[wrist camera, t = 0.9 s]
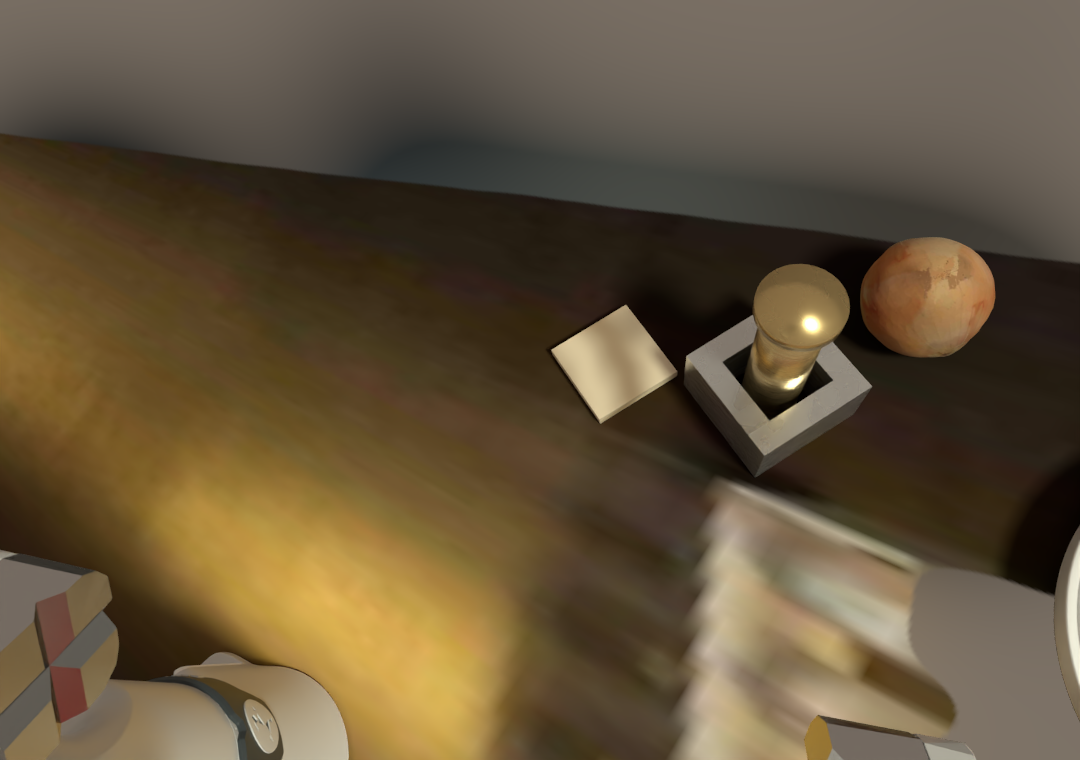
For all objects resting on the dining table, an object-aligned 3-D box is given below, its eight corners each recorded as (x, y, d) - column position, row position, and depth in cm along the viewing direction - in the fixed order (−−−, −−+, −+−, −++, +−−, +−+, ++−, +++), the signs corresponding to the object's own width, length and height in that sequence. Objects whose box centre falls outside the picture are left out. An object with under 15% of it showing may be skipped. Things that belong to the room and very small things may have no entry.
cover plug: (759, 445, 65) (793, 362, 49) (716, 390, 67) (735, 294, 52) (818, 408, 65) (869, 313, 50) (773, 354, 68) (809, 248, 52)
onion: (918, 256, 69) (958, 188, 60) (992, 343, 65) (1048, 284, 56) (824, 305, 69) (850, 243, 60) (894, 396, 65) (934, 344, 56)
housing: (754, 477, 64) (764, 455, 58) (683, 384, 68) (686, 355, 62) (853, 414, 65) (872, 386, 59) (777, 325, 69) (788, 292, 63)
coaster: (600, 423, 67) (599, 419, 66) (552, 354, 70) (551, 349, 69) (676, 375, 68) (677, 371, 67) (626, 309, 71) (626, 304, 70)
